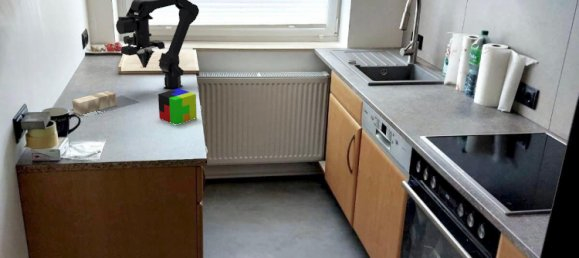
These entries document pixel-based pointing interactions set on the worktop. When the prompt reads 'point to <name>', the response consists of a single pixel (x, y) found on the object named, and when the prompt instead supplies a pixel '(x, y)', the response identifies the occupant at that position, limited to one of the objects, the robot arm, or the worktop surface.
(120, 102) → the slate mat
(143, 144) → the worktop surface
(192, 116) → the puzzle toy
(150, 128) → the worktop surface
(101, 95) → the birch block
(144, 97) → the worktop surface
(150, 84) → the worktop surface
